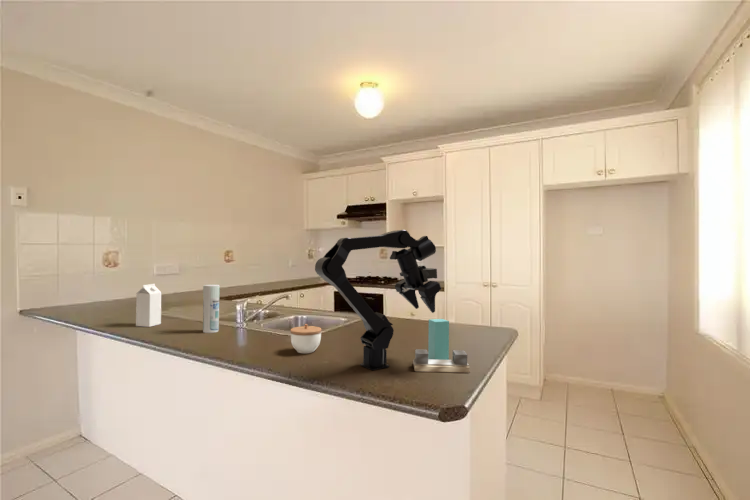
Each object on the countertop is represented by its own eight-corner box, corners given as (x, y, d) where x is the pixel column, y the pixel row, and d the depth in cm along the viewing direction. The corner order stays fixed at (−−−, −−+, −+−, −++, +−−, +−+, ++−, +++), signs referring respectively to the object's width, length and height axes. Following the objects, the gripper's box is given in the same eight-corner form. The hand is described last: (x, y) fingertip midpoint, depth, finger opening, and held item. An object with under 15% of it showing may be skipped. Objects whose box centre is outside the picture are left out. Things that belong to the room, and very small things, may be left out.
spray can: (208, 329, 163) (209, 284, 164) (222, 330, 162) (222, 284, 162) (199, 332, 157) (199, 285, 157) (212, 333, 156) (213, 285, 156)
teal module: (434, 363, 117) (435, 321, 117) (428, 359, 121) (428, 319, 121) (448, 361, 119) (449, 321, 119) (441, 357, 123) (442, 318, 123)
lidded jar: (327, 350, 131) (327, 323, 131) (305, 357, 122) (305, 328, 122) (306, 345, 137) (306, 320, 137) (283, 351, 128) (283, 324, 129)
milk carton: (135, 326, 168) (136, 284, 169) (147, 323, 175) (148, 283, 176) (149, 327, 167) (150, 285, 167) (161, 324, 174) (161, 283, 174)
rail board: (414, 371, 109) (414, 354, 109) (413, 364, 116) (413, 348, 116) (469, 372, 108) (469, 355, 108) (464, 365, 115) (465, 349, 115)
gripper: (445, 257, 114) (461, 302, 117) (412, 256, 130) (427, 296, 133) (418, 272, 109) (435, 319, 112) (387, 269, 126) (403, 310, 128)
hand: (425, 310), depth 121 cm, fingers open, 9 cm apart
